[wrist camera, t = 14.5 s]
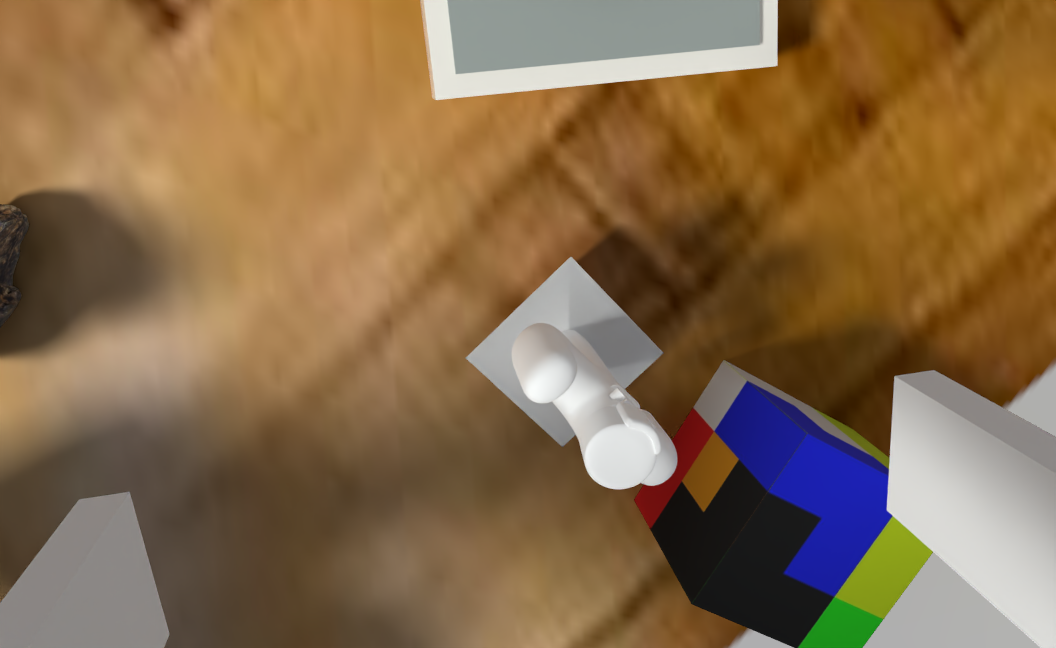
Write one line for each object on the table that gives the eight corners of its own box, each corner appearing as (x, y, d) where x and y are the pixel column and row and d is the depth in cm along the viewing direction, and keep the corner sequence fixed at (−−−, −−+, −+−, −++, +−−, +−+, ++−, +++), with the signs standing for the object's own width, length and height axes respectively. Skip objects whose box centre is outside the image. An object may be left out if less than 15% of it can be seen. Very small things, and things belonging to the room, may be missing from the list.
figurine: (562, 430, 45) (636, 591, 31) (445, 321, 42) (468, 444, 28) (655, 344, 45) (774, 468, 30) (542, 227, 42) (616, 304, 27)
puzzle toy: (723, 359, 46) (807, 433, 36) (851, 428, 48) (961, 513, 39) (633, 499, 47) (691, 603, 38) (762, 558, 50) (846, 669, 41)
